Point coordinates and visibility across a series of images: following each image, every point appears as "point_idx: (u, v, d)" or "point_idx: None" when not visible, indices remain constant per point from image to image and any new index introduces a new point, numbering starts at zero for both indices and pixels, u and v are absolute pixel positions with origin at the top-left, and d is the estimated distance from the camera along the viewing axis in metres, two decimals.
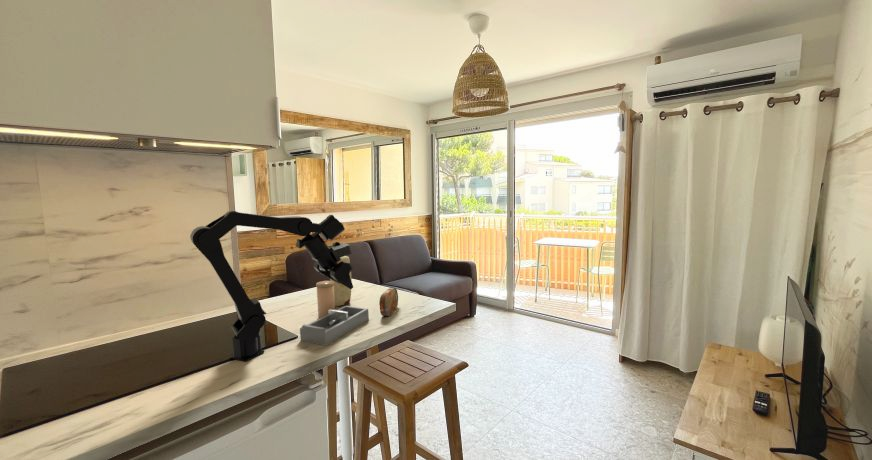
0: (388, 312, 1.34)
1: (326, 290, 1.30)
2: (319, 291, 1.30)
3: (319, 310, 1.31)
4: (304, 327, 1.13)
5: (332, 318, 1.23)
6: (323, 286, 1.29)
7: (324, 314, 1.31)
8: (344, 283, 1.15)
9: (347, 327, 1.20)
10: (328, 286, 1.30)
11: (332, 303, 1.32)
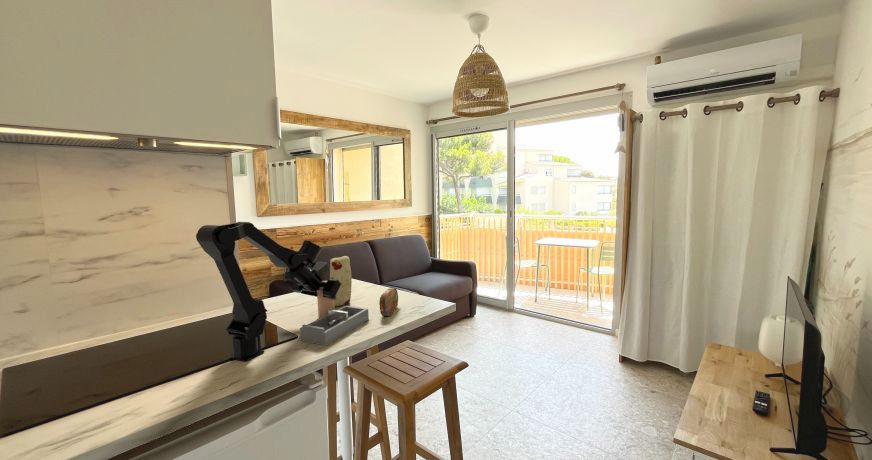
0: (388, 312, 1.34)
1: None
2: (319, 291, 1.30)
3: (319, 310, 1.31)
4: (304, 327, 1.13)
5: (332, 318, 1.23)
6: None
7: (324, 314, 1.31)
8: None
9: (347, 327, 1.20)
10: None
11: (332, 303, 1.32)
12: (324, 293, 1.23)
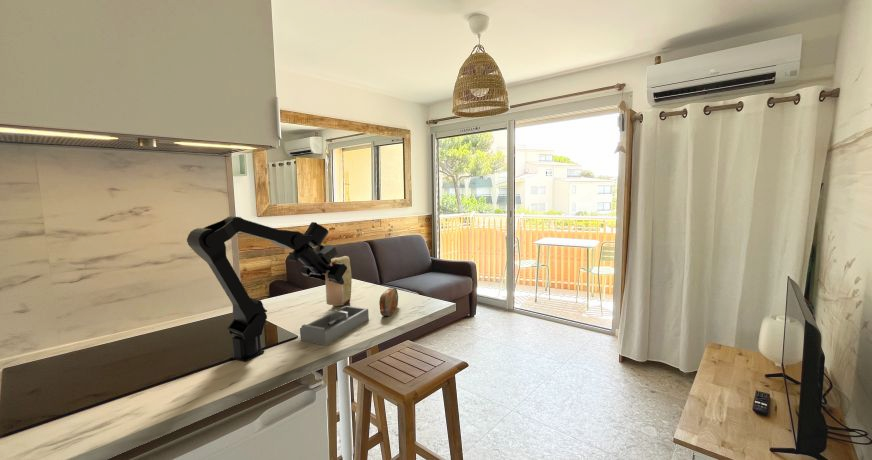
0: (388, 312, 1.34)
1: None
2: (327, 275, 1.27)
3: (327, 294, 1.29)
4: (304, 327, 1.13)
5: (332, 318, 1.23)
6: None
7: (331, 299, 1.28)
8: (337, 281, 1.26)
9: (347, 327, 1.20)
10: None
11: (340, 288, 1.29)
12: (329, 276, 1.20)
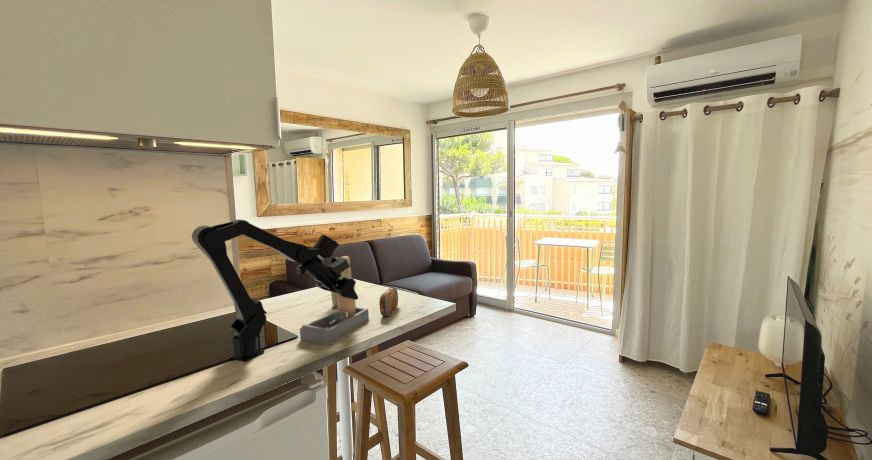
0: (388, 312, 1.34)
1: None
2: None
3: None
4: (304, 327, 1.13)
5: (332, 318, 1.23)
6: None
7: None
8: (350, 296, 1.21)
9: (347, 327, 1.20)
10: None
11: (351, 306, 1.25)
12: (336, 291, 1.17)
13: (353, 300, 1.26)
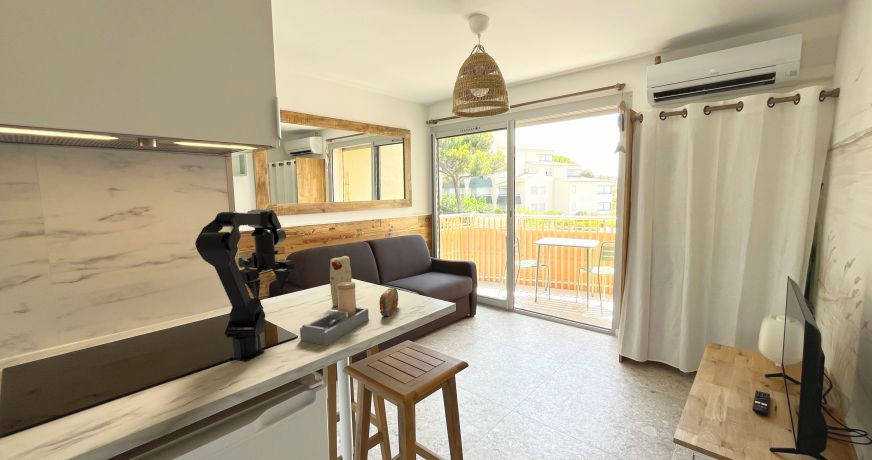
0: (388, 312, 1.34)
1: (344, 292, 1.23)
2: (338, 292, 1.24)
3: None
4: (304, 327, 1.13)
5: (332, 318, 1.23)
6: (342, 287, 1.23)
7: None
8: None
9: (347, 327, 1.20)
10: (347, 288, 1.23)
11: (351, 306, 1.25)
12: (287, 263, 1.21)
13: (353, 300, 1.26)
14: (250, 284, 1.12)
